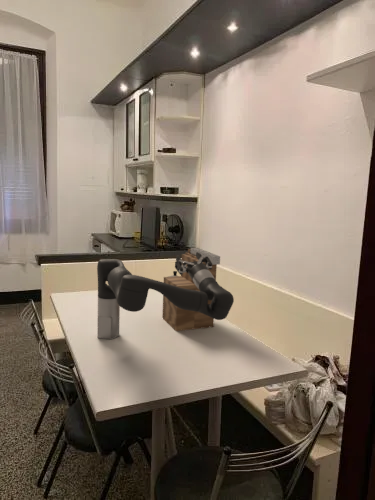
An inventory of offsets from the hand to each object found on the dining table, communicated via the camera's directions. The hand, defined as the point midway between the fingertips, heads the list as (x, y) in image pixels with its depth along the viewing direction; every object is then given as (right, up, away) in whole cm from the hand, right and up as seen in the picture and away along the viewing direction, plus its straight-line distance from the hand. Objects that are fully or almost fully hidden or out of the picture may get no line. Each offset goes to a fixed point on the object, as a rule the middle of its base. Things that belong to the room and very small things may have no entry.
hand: (187, 255), depth 161 cm
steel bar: (+8, -2, +19) cm, 20 cm away
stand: (0, -33, +27) cm, 43 cm away
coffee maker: (-7, -28, +59) cm, 65 cm away
